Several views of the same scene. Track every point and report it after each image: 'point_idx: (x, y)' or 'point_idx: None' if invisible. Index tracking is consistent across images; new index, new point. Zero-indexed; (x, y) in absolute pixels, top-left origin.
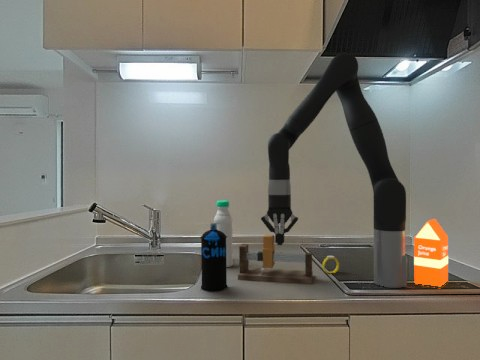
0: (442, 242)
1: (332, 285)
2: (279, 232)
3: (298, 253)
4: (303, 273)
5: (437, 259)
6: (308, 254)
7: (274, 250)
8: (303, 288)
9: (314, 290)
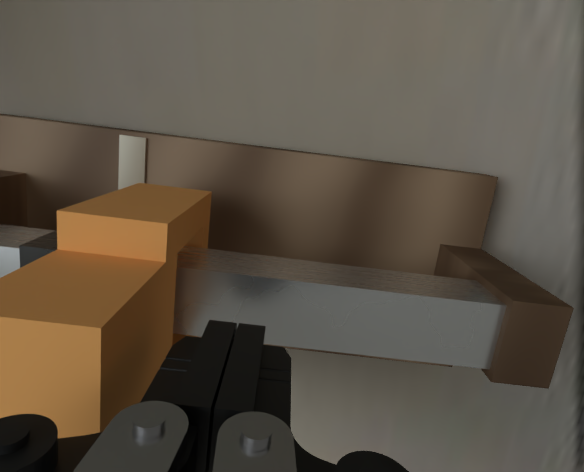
0: None
1: (555, 367)
2: (194, 439)
3: (433, 298)
4: (422, 244)
5: None
6: (522, 376)
7: (181, 226)
8: (390, 426)
9: (441, 450)
